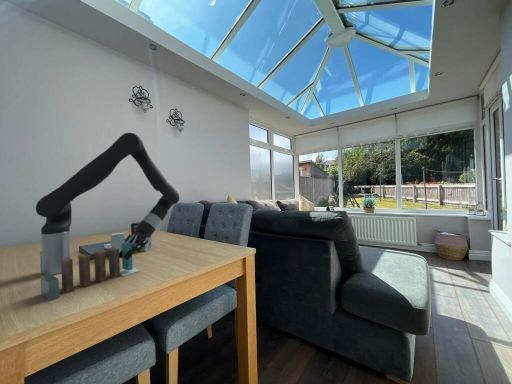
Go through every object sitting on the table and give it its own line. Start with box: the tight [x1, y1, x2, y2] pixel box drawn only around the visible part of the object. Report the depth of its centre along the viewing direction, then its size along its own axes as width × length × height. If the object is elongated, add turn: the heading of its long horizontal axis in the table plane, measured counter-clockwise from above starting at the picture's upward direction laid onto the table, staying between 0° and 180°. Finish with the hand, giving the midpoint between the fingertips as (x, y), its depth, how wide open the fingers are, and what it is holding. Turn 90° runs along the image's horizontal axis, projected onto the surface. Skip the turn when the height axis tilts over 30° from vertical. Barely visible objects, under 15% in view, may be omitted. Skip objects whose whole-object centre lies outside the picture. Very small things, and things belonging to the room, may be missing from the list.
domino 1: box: [61, 257, 75, 294], centre depth 77 cm, size 2×5×11 cm, turn 56°
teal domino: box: [121, 242, 134, 271], centre depth 94 cm, size 2×5×11 cm, turn 56°
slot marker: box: [120, 267, 142, 277], centre depth 94 cm, size 7×8×1 cm
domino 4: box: [107, 247, 121, 279], centre depth 89 cm, size 2×5×11 cm, turn 56°
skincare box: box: [110, 232, 125, 252], centre depth 118 cm, size 6×4×12 cm
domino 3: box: [93, 250, 107, 283], centre depth 85 cm, size 2×5×11 cm, turn 56°
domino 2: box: [78, 253, 92, 288], centre depth 81 cm, size 2×5×11 cm, turn 56°
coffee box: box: [130, 221, 153, 252], centre depth 130 cm, size 9×6×16 cm
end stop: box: [40, 274, 60, 301], centre depth 73 cm, size 2×9×6 cm, turn 56°
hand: (122, 257), depth 92 cm, fingers closed on teal domino, 4 cm apart
